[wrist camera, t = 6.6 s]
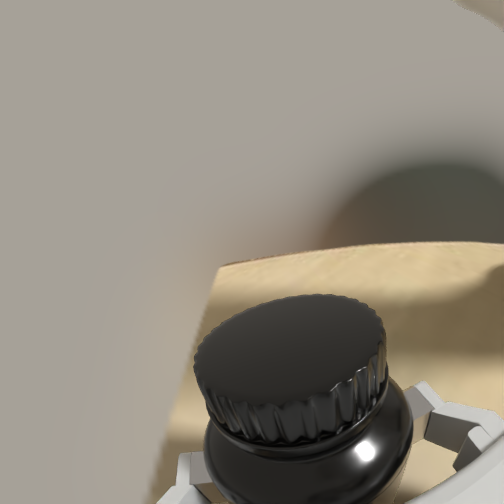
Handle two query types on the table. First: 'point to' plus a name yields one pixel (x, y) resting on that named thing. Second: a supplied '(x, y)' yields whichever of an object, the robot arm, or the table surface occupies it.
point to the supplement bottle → (303, 405)
